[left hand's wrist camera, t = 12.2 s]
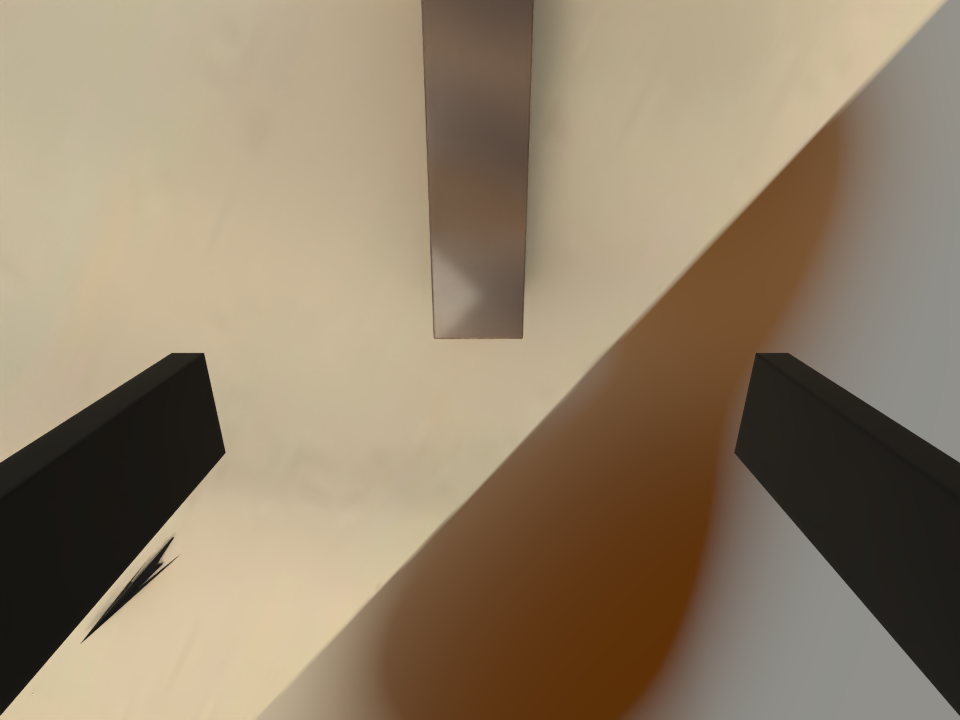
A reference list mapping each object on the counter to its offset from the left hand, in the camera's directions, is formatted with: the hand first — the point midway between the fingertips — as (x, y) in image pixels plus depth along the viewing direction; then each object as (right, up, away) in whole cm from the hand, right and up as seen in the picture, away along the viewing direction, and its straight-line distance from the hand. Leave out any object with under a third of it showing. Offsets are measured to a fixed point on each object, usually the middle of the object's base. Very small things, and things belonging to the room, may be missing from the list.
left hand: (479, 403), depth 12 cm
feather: (-35, -23, +35) cm, 55 cm away
